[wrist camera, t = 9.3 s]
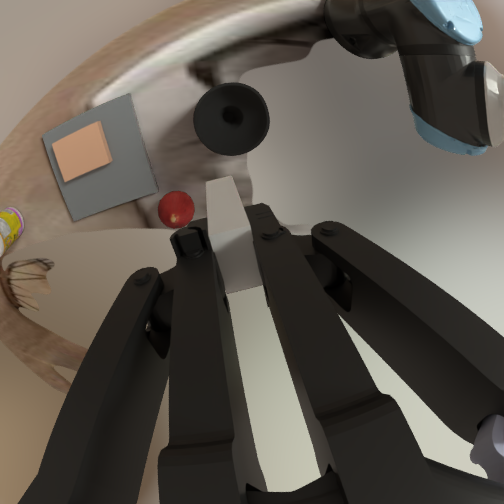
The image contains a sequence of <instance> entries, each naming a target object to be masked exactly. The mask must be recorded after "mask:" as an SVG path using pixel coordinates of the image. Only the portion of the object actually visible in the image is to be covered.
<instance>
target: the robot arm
mask: <svg viewBox="0 0 504 504" xmlns="http://www.w3.org/2000/svg"><path fill="white" fill-rule="evenodd" d="M324 17H325V21H326V24H327V27H328V29H329V31H330V33H331V34H332V36H333V37H334V38H335V40H336V41H337V42H338V43H339V44H340V45H341V46H342V47H343V48H345V49H346V50H347V51H349V52H351V53H352V54H354V55H357V56H359V57H362V58H366V59H378V58H384V57H388V56H390V55H392V54H393V53H395V52H396V51H397V50H398V52H399V56H400V61H401V64H402V68H403V72H404V77H405V81H406V85H407V90H408V95H409V100H410V110H411V112H412V114H413V119H414V123H415V128H416V130H417V132H418V134H419V135H420V136H421V137H422V138H423V139H424V140H425V141H426V142H428V143H430V144H431V145H433V146H435V147H437V148H440V149H442V150H445V151H448V152H452V153H456V154H461V155H465V154H469V155H472V156H473V155H480V154H483V153H484V152H485V151H486V149H487V147H488V146H492V147H497V146H498V145H499V144H500V143H502V142H503V141H504V75H502V74H500V73H499V72H498V71H497V70H496V69H495V68H494V67H493V66H492V65H491V64H490V63H489V62H484V61H477V59H476V57H474V56H475V51H474V47H473V45H475V44H476V43H478V42H479V41H480V40H481V38H482V33H481V31H483V26H482V21H481V18H480V15H479V13H478V10H477V8H476V6H475V5H474V3H473V1H472V0H326V3H325V6H324ZM206 200H207V218H203V219H199V220H195V221H192V222H190V223H189V224H188V225H187V227H184V228H181V229H179V230H178V231H176V232H175V233H174V234H172V235H171V237H170V241H171V244H172V246H173V249H174V252H175V254H176V257H177V263H176V266H175V267H173V268H172V269H170V270H168V271H166V272H163V273H161V274H159V272H158V270H157V269H156V268H154V267H147V268H142V269H140V270H138V271H136V272H135V273H133V274H132V275H131V276H130V277H129V279H127V281H126V283H125V284H124V286H123V288H122V289H121V291H120V293H119V295H118V296H117V298H116V300H115V301H114V303H113V305H112V307H111V309H110V310H109V312H108V314H107V316H106V317H105V319H104V321H103V323H102V325H101V327H100V328H99V330H98V332H97V334H96V336H95V338H94V340H93V342H92V344H91V345H90V347H89V349H88V351H87V353H86V355H85V357H84V359H83V361H82V364H81V366H80V368H79V370H78V372H77V374H76V376H75V378H74V380H73V383H72V385H71V387H70V389H69V392H68V394H67V396H66V399H65V401H64V403H63V406H62V408H61V410H60V413H59V415H58V418H57V420H56V423H55V425H54V428H53V431H52V434H51V436H50V439H49V442H48V444H47V447H46V450H45V453H44V456H43V459H42V462H41V466H40V468H39V472H38V475H37V476H36V477H35V479H34V480H33V482H32V483H31V485H30V486H29V488H28V489H27V490H26V492H25V493H24V495H23V496H22V498H21V499H20V501H19V502H18V504H136V503H137V500H138V495H139V490H140V486H141V481H142V476H143V473H144V468H145V464H146V460H147V456H148V451H149V447H150V443H151V439H152V436H153V431H154V428H155V424H156V420H157V416H158V413H159V409H160V405H161V401H162V398H163V394H164V390H165V387H166V383H167V380H168V377H169V443H168V446H167V447H165V448H164V449H162V450H161V452H160V454H159V457H158V485H159V500H160V504H504V337H503V336H502V335H500V334H499V333H498V332H497V331H495V330H494V329H493V328H492V327H491V326H490V325H488V324H487V323H486V322H485V321H483V320H482V319H481V318H480V317H478V316H477V315H476V314H475V313H473V312H472V311H471V310H469V309H468V308H467V307H465V306H464V305H463V304H462V303H460V302H459V301H458V300H456V299H455V298H454V297H452V296H451V295H450V294H448V293H447V292H445V291H444V290H443V289H441V288H440V287H438V286H437V285H436V284H434V283H433V282H432V281H430V280H429V279H427V278H426V277H424V276H423V275H421V274H420V273H418V272H417V271H416V270H414V269H413V268H411V267H410V266H408V265H407V264H406V263H404V262H402V261H401V260H400V259H398V258H396V257H395V256H393V255H392V254H390V253H389V252H387V251H386V250H384V249H383V248H381V247H380V246H378V245H376V244H375V243H373V242H372V241H370V240H368V239H367V238H365V237H363V236H362V235H360V234H359V233H357V232H356V231H354V230H352V229H351V228H349V227H347V226H345V225H344V224H342V223H339V222H333V221H325V222H322V223H319V224H317V225H315V226H313V228H312V229H311V235H303V236H300V235H299V236H297V235H291V233H290V231H289V230H288V229H287V228H286V227H283V226H280V224H279V222H278V220H277V219H276V217H275V215H274V214H273V212H272V210H271V209H270V207H269V206H268V205H265V204H263V203H260V204H256V205H252V206H247V207H243V204H242V202H241V199H240V196H239V194H238V191H237V188H236V186H235V183H234V180H233V178H232V175H231V176H227V177H223V178H219V179H215V180H211V181H207V182H206ZM261 285H263V287H264V291H265V296H266V301H267V305H268V307H270V311H271V314H272V317H273V320H274V323H275V327H276V330H277V333H278V336H279V340H280V343H281V346H282V349H283V352H284V355H285V359H286V362H287V365H288V368H289V371H290V374H291V378H292V381H293V384H294V387H295V390H296V393H297V396H298V400H299V403H300V406H301V409H302V412H303V416H304V419H305V422H306V425H307V428H308V431H309V434H310V438H311V441H312V444H313V447H314V451H315V455H316V460H317V464H318V467H319V471H320V474H321V477H320V478H318V479H317V480H315V481H313V482H311V483H309V484H308V485H305V486H303V487H302V488H299V489H297V490H295V491H292V492H268V491H267V486H266V482H265V479H264V476H263V473H262V470H261V468H260V465H259V461H258V458H257V453H256V448H255V443H254V438H253V434H252V429H251V424H250V419H249V414H248V408H247V403H246V398H245V393H244V388H243V382H242V377H241V371H240V367H239V361H238V355H237V349H236V344H235V338H234V331H233V326H232V319H231V314H230V307H229V302H228V299H227V296H226V293H227V294H229V293H233V292H237V291H241V290H245V289H249V288H253V287H257V286H261ZM225 290H226V292H225ZM337 313H338V314H339V315H340V316H341V317H342V318H343V319H344V320H345V321H346V322H347V323H348V324H349V325H350V326H351V327H352V328H353V330H354V331H356V332H357V333H358V335H359V336H361V338H362V339H363V340H364V341H365V342H366V343H367V344H368V345H370V347H371V348H372V349H373V350H374V351H375V352H376V353H377V354H378V355H379V356H380V357H381V358H382V359H383V360H384V361H385V362H386V363H387V364H388V365H389V366H390V367H391V368H392V369H393V370H394V371H395V372H396V373H397V374H398V375H399V376H400V378H401V379H402V380H403V381H404V382H405V383H406V384H407V385H408V386H409V387H410V388H411V389H412V390H413V391H414V392H415V393H416V394H417V395H418V396H419V397H420V398H421V400H422V401H423V402H424V403H425V404H426V405H427V406H428V407H429V408H430V409H431V410H432V411H433V412H434V413H435V414H436V415H437V416H438V418H439V419H441V421H442V422H443V423H444V424H445V425H446V426H447V427H449V428H450V429H451V430H452V431H453V432H454V433H456V434H457V435H458V436H460V437H461V438H463V439H464V440H465V441H467V442H469V443H471V444H473V445H474V447H473V449H472V450H471V453H470V459H471V461H472V462H473V463H475V464H479V465H480V466H481V467H482V468H483V469H484V470H485V471H486V473H487V476H488V479H485V478H482V477H479V476H476V475H472V474H469V473H466V472H463V471H461V470H458V469H455V468H452V467H449V466H446V465H444V464H441V463H439V462H436V461H434V460H431V459H428V458H426V457H424V456H423V454H422V452H421V449H420V447H419V445H418V443H417V441H416V439H415V437H414V435H413V433H412V431H411V429H410V427H409V425H408V423H407V421H406V419H405V417H404V415H403V413H402V411H401V409H400V407H399V405H398V404H397V402H396V401H395V399H393V398H392V397H391V396H390V395H387V394H382V393H381V392H380V391H379V390H378V388H377V387H376V385H375V383H374V381H373V379H372V377H371V375H370V373H369V371H368V369H367V367H366V365H365V364H364V361H363V360H362V358H361V356H360V354H359V352H358V350H357V348H356V347H355V345H354V343H353V341H352V339H351V337H350V335H349V334H348V332H347V330H346V328H345V326H344V325H343V323H342V321H341V319H340V317H339V315H338V314H337ZM147 324H148V326H147V329H146V325H147Z"/></svg>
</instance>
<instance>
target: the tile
mask: <svg viewBox="0 0 504 504" xmlns="http://www.w3.org/2000/svg"><path fill="white" fill-rule="evenodd" d="M52 146H53V150H54V153H55V156H56V159H57V162H58V165H59V168H60V170H61V173H62V176H63V179H64V181H65V182H66V181H69V180H71V179H73V178H75V177H77V176H80V175H82V174H84V173H86V172H89V171H91V170H93V169H96V168H98V167H101V166H103V165H105V164H108V163H110V162H111V161H113V160H112V157H111V154H110V151H109V148H108V144H107V141H106V138H105V134H104V131H103V128H102V124H101V121H97V122H95V123H93V124H90V125H88V126H86V127H84V128H82V129H80V130H78V131H76V132H74V133H72V134H70V135H68V136H66V137H64V138H62V139H60V140H58V141H56V142H55V143H53V144H52Z"/></svg>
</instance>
